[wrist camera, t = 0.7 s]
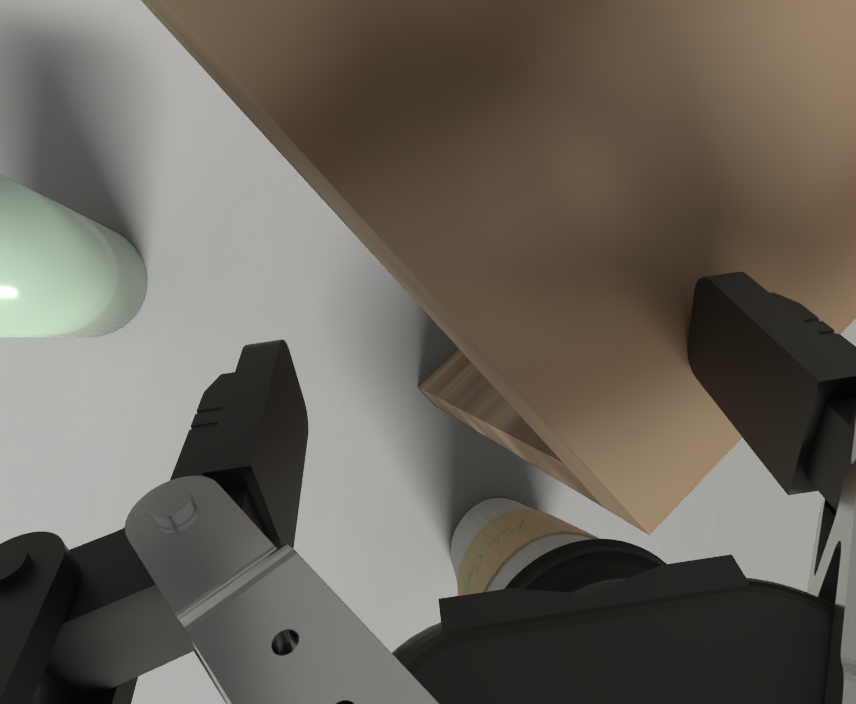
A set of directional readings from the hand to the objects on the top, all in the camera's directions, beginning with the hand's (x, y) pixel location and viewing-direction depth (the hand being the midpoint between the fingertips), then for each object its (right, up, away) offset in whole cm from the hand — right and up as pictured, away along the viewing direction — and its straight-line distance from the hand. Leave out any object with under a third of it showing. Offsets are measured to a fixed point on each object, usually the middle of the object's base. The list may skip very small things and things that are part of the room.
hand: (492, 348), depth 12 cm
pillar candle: (-19, +4, +21) cm, 29 cm away
